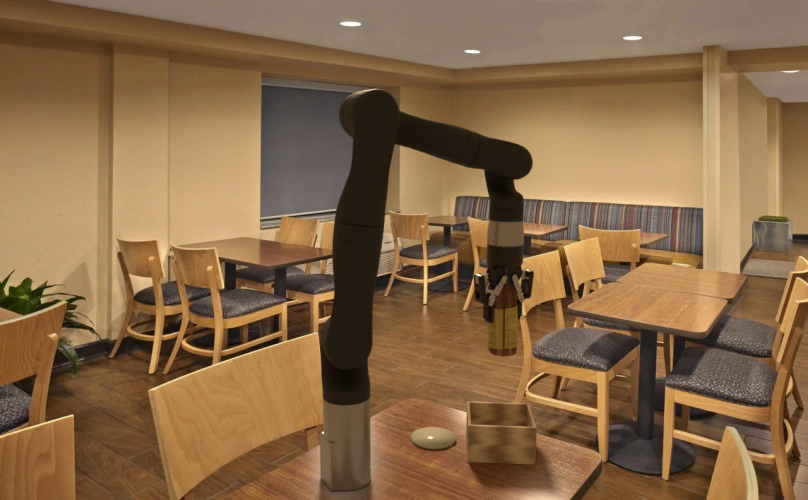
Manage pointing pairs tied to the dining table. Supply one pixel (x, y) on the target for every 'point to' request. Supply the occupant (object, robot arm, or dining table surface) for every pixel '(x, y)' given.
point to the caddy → (500, 433)
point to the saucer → (433, 438)
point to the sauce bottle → (504, 319)
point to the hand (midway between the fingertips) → (502, 320)
